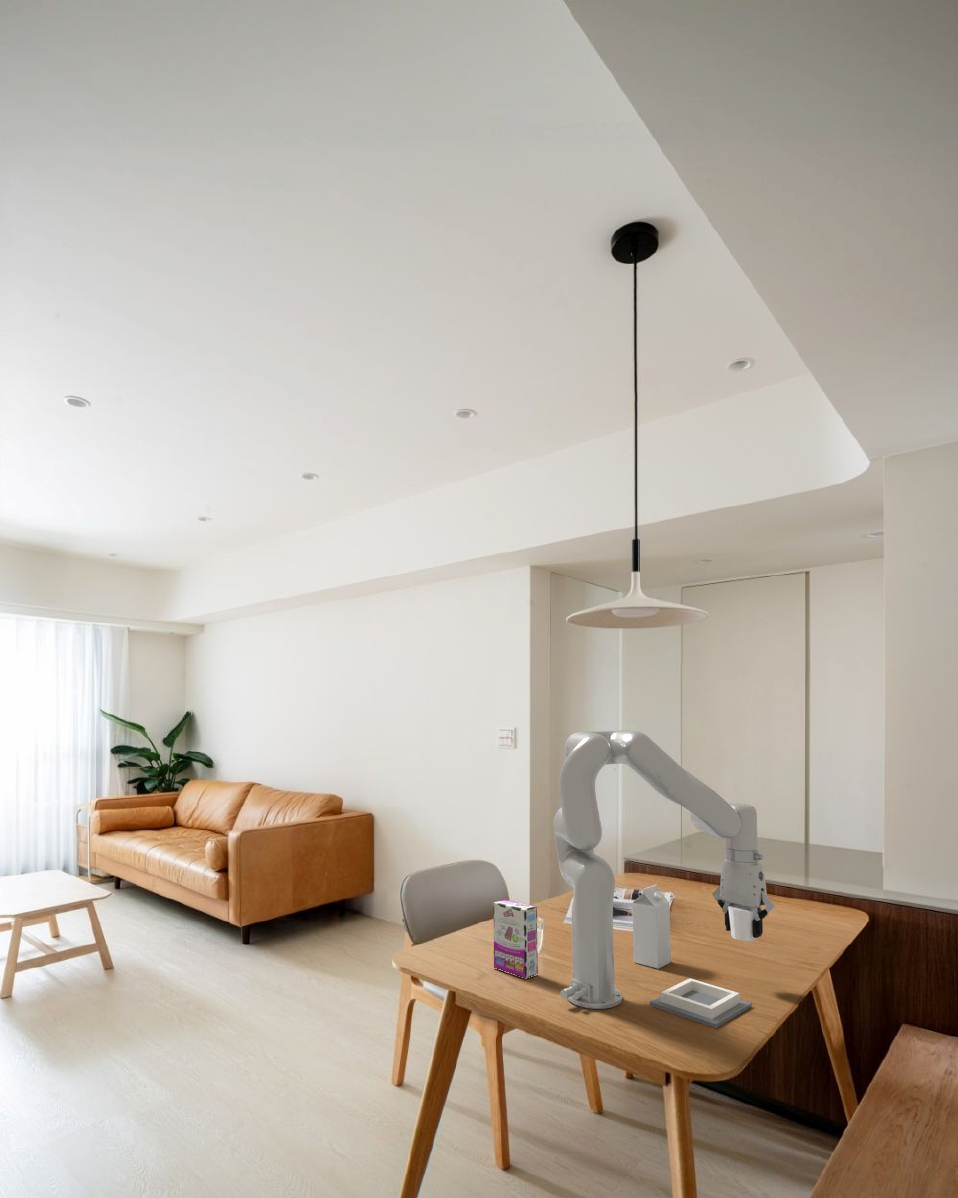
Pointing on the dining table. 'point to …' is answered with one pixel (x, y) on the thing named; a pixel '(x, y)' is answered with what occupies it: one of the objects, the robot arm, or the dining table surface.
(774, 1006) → the dining table surface
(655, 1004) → the holder tray
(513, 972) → the candy bar box
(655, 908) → the milk carton
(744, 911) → the white cup
